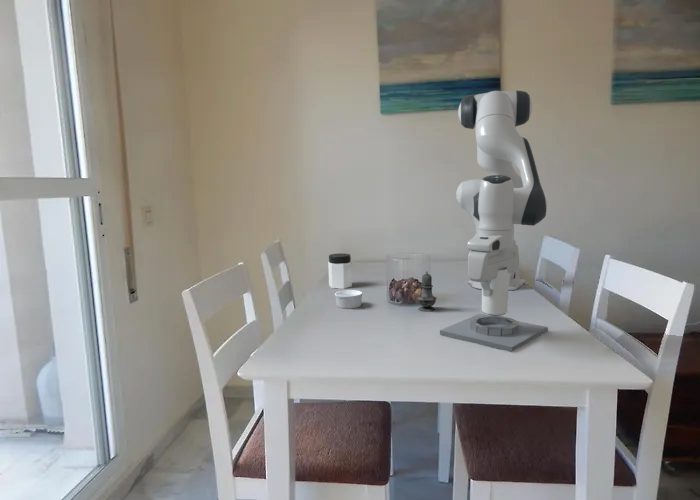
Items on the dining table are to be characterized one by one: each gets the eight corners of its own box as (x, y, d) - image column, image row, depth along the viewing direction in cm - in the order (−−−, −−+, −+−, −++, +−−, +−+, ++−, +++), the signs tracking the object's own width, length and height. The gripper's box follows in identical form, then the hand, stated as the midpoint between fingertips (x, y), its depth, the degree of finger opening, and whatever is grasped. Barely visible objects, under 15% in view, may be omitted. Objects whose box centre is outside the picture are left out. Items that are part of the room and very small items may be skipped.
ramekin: (330, 308, 161) (329, 294, 161) (343, 301, 169) (342, 288, 168) (355, 310, 157) (354, 297, 157) (367, 303, 165) (366, 291, 164)
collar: (484, 319, 140) (485, 313, 140) (526, 327, 132) (526, 321, 132) (461, 329, 132) (461, 322, 132) (504, 339, 124) (504, 332, 123)
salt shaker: (436, 312, 153) (436, 273, 151) (416, 311, 154) (416, 273, 152) (436, 307, 159) (436, 269, 157) (418, 306, 160) (417, 269, 158)
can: (476, 310, 134) (477, 266, 132) (496, 307, 136) (498, 263, 134) (491, 317, 128) (493, 271, 126) (512, 314, 130) (514, 268, 128)
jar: (354, 287, 188) (353, 256, 186) (333, 289, 186) (332, 257, 184) (347, 283, 197) (346, 252, 195) (327, 284, 194) (326, 254, 192)
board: (479, 317, 146) (479, 313, 146) (547, 331, 132) (547, 327, 132) (439, 334, 132) (439, 330, 132) (511, 352, 118) (511, 347, 118)
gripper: (503, 235, 138) (502, 284, 140) (463, 243, 124) (462, 298, 126) (525, 236, 134) (524, 287, 136) (486, 245, 119) (485, 302, 121)
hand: (494, 293), depth 131 cm, fingers closed on can, 6 cm apart
